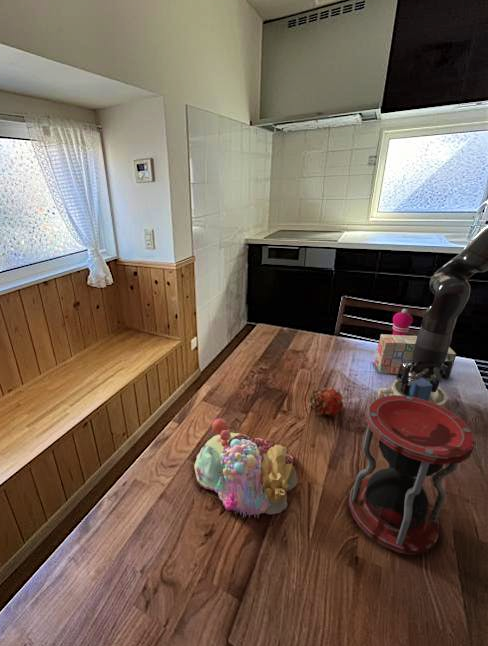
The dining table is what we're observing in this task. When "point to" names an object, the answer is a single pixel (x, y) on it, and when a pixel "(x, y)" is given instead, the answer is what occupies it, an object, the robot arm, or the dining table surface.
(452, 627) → the dining table surface
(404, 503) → the hourglass
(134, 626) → the dining table surface
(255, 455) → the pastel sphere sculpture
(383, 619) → the dining table surface
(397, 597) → the dining table surface
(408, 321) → the pepper mill
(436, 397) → the mug
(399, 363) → the stack of blocks
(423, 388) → the block
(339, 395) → the dragon fruit
